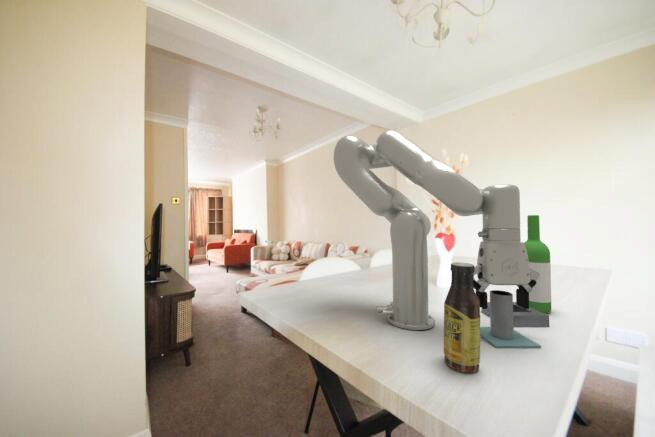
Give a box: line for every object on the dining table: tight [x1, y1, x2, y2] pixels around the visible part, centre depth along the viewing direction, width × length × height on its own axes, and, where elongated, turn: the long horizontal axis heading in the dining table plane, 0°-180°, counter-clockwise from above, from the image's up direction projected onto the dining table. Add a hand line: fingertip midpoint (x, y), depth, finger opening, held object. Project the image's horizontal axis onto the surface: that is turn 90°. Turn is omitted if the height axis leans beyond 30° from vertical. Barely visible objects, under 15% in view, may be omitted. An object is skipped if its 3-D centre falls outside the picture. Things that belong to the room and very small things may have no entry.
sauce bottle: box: [443, 261, 481, 374], centre depth 49 cm, size 7×6×20 cm
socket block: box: [481, 301, 550, 328], centre depth 72 cm, size 11×11×3 cm
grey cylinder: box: [489, 289, 514, 340], centre depth 61 cm, size 4×4×10 cm
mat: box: [480, 326, 542, 349], centre depth 60 cm, size 10×10×1 cm
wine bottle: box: [524, 214, 552, 315], centre depth 79 cm, size 8×8×30 cm
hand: (502, 307), depth 61 cm, fingers open, 9 cm apart
